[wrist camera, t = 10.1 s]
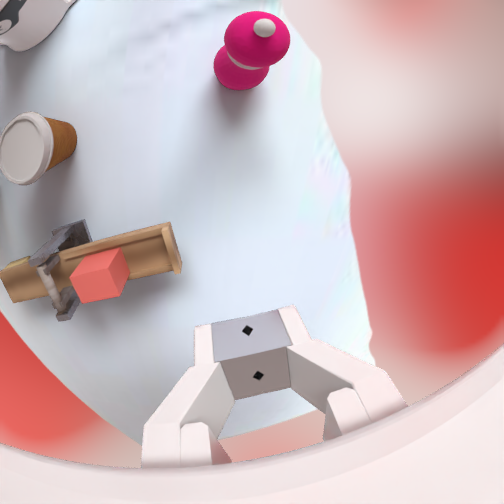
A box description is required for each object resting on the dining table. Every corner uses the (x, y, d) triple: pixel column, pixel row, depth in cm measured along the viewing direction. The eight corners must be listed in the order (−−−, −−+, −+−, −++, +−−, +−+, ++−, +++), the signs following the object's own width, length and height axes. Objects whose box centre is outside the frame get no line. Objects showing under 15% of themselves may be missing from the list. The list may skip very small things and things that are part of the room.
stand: (53, 229, 38) (17, 262, 27) (84, 219, 39) (50, 251, 28) (75, 282, 43) (49, 324, 32) (105, 275, 44) (82, 318, 33)
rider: (85, 256, 34) (69, 277, 29) (120, 246, 34) (107, 267, 29) (95, 280, 36) (82, 303, 30) (130, 272, 36) (120, 296, 31)
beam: (9, 259, 36) (-17, 285, 27) (171, 211, 38) (163, 235, 30) (24, 292, 39) (3, 321, 31) (184, 255, 41) (180, 288, 33)
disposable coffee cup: (88, 109, 32) (49, 106, 21) (84, 169, 36) (47, 186, 25) (40, 115, 30) (-4, 117, 19) (38, 171, 34) (-4, 189, 23)
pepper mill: (261, 95, 36) (309, 69, 18) (211, 92, 35) (216, 59, 17) (263, 51, 33) (311, -1, 15) (214, 48, 32) (223, -13, 14)
